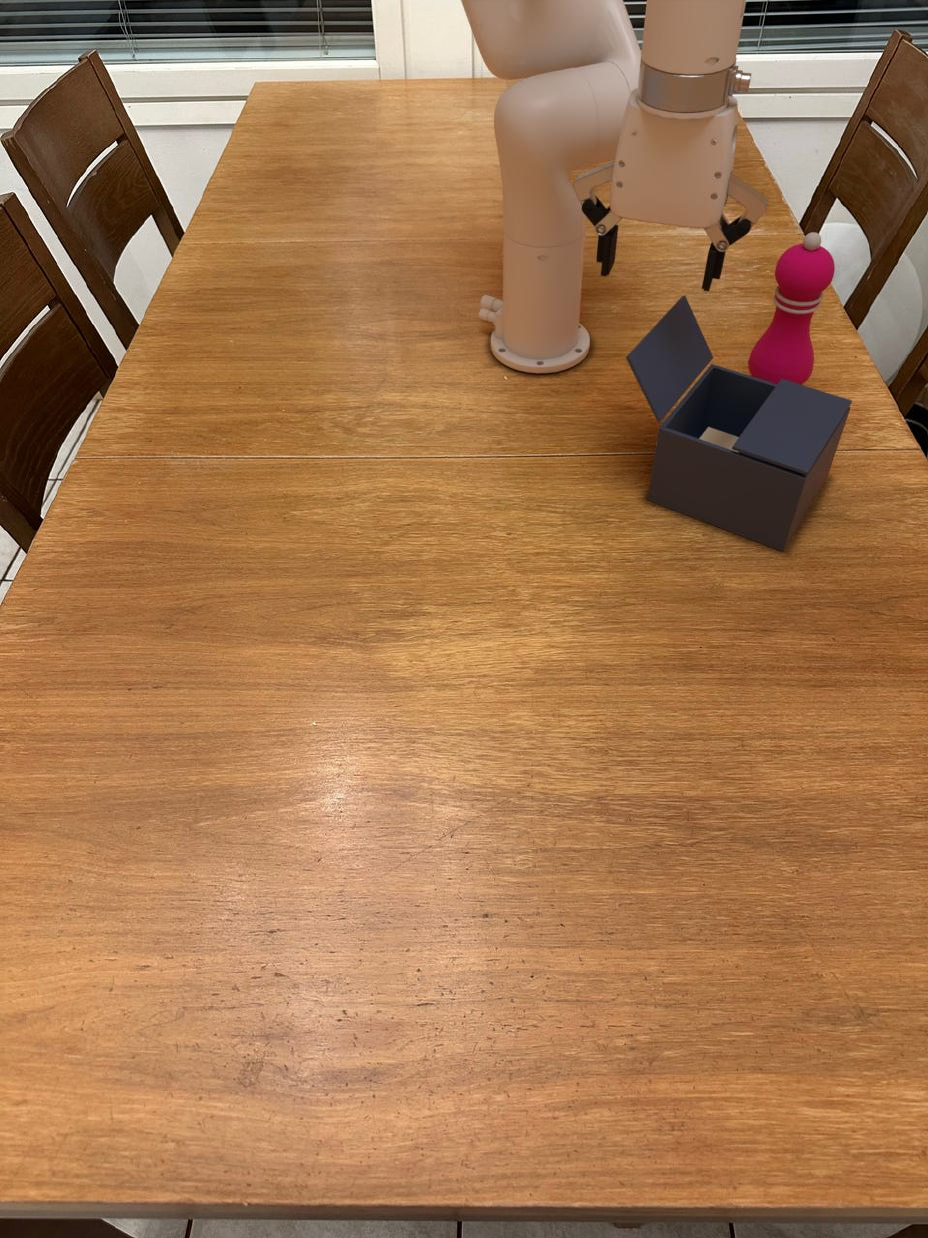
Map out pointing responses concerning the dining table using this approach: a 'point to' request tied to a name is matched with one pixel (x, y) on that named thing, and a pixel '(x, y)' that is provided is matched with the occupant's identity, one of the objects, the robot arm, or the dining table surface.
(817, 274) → the pepper mill
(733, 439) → the block
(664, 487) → the carton
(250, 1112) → the dining table surface
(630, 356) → the flap
